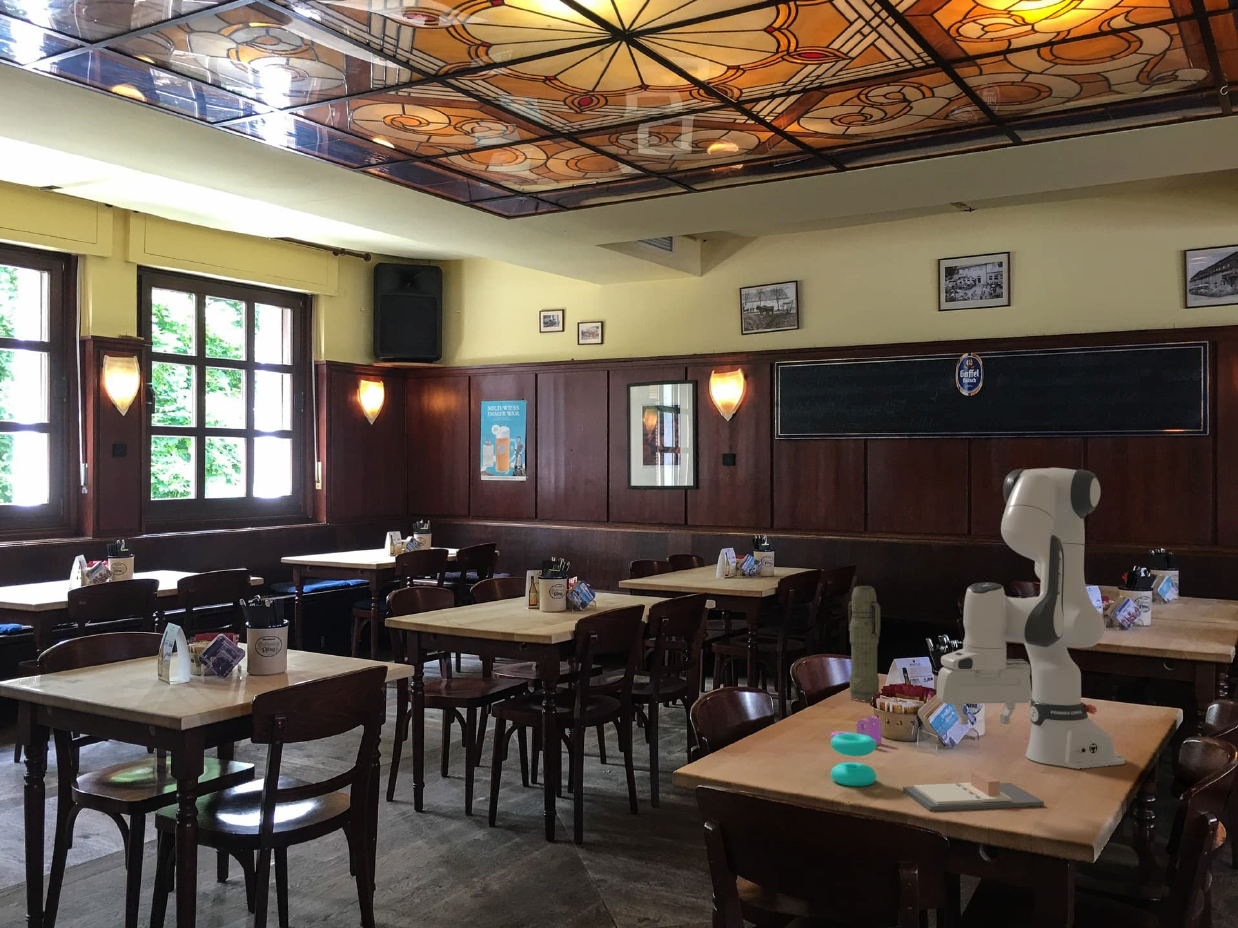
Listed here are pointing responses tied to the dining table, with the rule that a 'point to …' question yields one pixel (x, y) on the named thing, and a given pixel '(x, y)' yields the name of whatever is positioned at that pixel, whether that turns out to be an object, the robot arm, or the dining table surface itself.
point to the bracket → (867, 729)
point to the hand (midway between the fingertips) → (984, 723)
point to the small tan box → (985, 787)
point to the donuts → (853, 771)
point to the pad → (967, 797)
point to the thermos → (864, 642)
